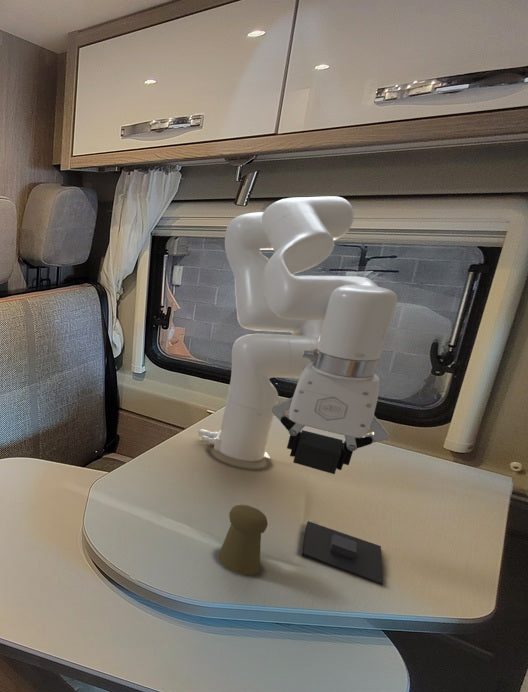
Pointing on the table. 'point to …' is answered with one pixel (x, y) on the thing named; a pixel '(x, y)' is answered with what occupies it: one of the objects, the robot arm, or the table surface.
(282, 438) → the table surface
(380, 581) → the base pad
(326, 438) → the pad
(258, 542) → the cork
